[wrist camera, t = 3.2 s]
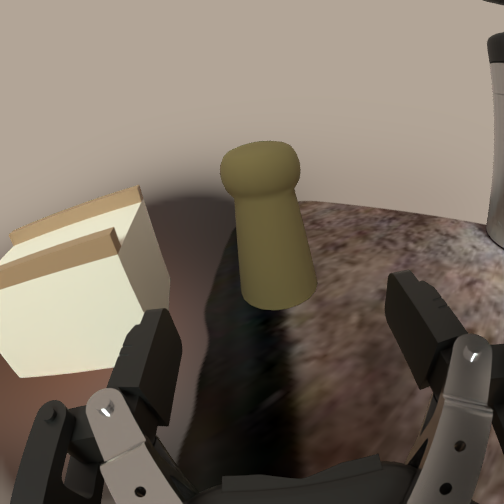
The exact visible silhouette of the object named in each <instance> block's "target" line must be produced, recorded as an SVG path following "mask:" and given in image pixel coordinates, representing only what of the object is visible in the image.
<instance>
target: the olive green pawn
mask: <svg viewBox="0 0 504 504" xmlns="http://www.w3.org/2000/svg"><path fill="white" fill-rule="evenodd" d="M220 175H221V180H222V183H223V185H224V187H225V189H226V191H227V192H228V193H229V194H230V195H231V196H232V197H233V198H234V202H235V216H236V229H237V243H238V256H239V269H240V281H241V293H242V295H243V298H244V300H245V301H247V302H248V303H249V304H250V305H252V306H255V307H257V308H260V309H266V310H281V309H288V308H291V307H294V306H296V305H299V304H301V303H303V302H304V301H306V300H307V299H309V298H310V297H311V296H312V294H313V293H314V292H315V290H316V287H317V279H316V274H315V270H314V266H313V261H312V257H311V253H310V249H309V245H308V241H307V236H306V232H305V228H304V224H303V220H302V217H301V213H300V209H299V205H298V201H297V197H296V194H295V190H294V188H295V186H296V185H297V183H298V181H299V178H300V162H299V159H298V157H297V154H296V152H295V151H294V149H293V148H292V147H291V146H290V145H289V144H286V143H284V142H277V141H259V142H253V143H249V144H245V145H242V146H239V147H237V148H235V149H232V150H231V151H229V152H228V153H227V154H226V155H225V156H224V157H223V160H222V162H221V165H220Z"/></svg>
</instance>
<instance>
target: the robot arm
mask: <svg viewBox="0 0 504 504" xmlns="http://www.w3.org/2000/svg"><path fill="white" fill-rule="evenodd" d="M484 1H487V2H492V3H496V4H500V5H504V0H484ZM487 47H488V55H489V62H490V69H491V79H492V90H493V102H494V162H493V176H492V187H491V196H490V204H489V212H488V218H487V225H486V230H487V233H488V234H489V236H490V237H491V238H492V239H493V240H494V241H495V242H496V243H497V244H499V245H500V246H501V247H503V248H504V32H503V33H498V34H495V35H493V36H491V37H490V38H489V39H488V42H487ZM385 316H386V320H387V323H388V325H389V327H390V329H391V331H392V333H393V334H394V336H395V338H396V340H397V342H398V344H399V347H400V349H401V351H402V353H403V355H404V357H405V359H406V361H407V363H408V365H409V367H410V369H411V372H412V374H413V376H414V378H415V380H416V382H417V385H418V387H419V389H420V390H421V389H424V388H427V387H429V386H430V387H431V389H432V391H433V393H432V395H431V398H430V401H429V404H428V407H427V410H426V413H425V416H424V419H423V422H422V425H421V428H420V431H419V433H418V436H417V439H416V441H415V443H414V445H413V447H412V449H411V451H410V453H409V455H408V457H407V459H406V461H405V463H404V464H403V463H398V462H388V461H380V458H379V454H375V455H372V456H368V457H364V458H360V459H356V460H352V461H348V462H343V463H340V464H338V465H335V466H333V467H331V468H329V469H326V470H324V471H321V472H319V473H317V474H314V475H312V476H309V477H306V478H302V479H295V478H285V477H276V476H268V475H261V474H260V475H244V476H222V484H221V485H217V486H214V487H211V488H209V489H207V490H204V491H202V492H200V493H199V491H198V490H197V489H196V488H195V487H194V486H193V484H192V483H191V482H190V481H189V480H188V479H187V478H186V477H185V476H184V474H183V473H182V472H181V470H180V469H179V468H178V466H177V465H176V463H175V462H174V460H173V459H172V458H171V456H170V455H169V453H168V452H167V450H166V449H165V447H164V446H163V444H162V443H161V441H160V440H159V438H158V436H157V435H156V430H157V426H169V421H170V415H171V410H172V404H173V398H174V392H175V387H176V382H177V376H178V372H179V366H180V361H181V356H182V343H181V339H180V336H179V334H178V332H177V329H176V327H175V325H174V323H173V320H172V318H171V316H170V313H169V311H168V310H167V309H166V308H160V309H151V310H146V311H145V313H144V315H143V317H142V320H141V323H140V324H138V325H135V326H134V327H133V328H132V329H131V330H130V331H129V333H128V334H127V335H126V338H125V340H124V343H123V345H122V346H123V347H122V348H121V350H120V353H119V356H118V358H117V361H116V363H115V366H114V369H113V371H112V374H111V377H110V379H109V382H108V385H107V388H105V389H102V390H100V391H98V392H96V393H95V394H93V396H91V398H90V399H89V401H88V402H87V405H85V406H80V407H76V408H72V409H68V408H67V407H66V406H65V405H64V404H63V403H62V402H60V401H57V400H52V401H49V402H47V403H45V404H44V405H43V406H42V407H41V408H40V409H39V411H38V413H37V415H36V417H35V420H34V423H33V426H32V429H31V431H30V434H29V437H28V440H27V443H26V447H25V449H24V453H23V456H22V459H21V463H20V466H19V470H18V474H17V477H16V481H15V485H14V489H13V493H12V497H11V502H10V504H101V498H102V491H103V485H104V480H105V482H106V484H107V486H108V488H109V490H110V492H111V494H112V496H113V498H114V500H115V502H116V504H479V503H477V502H475V501H473V500H471V499H472V496H473V493H474V490H475V487H476V484H477V481H478V478H479V474H480V471H481V467H482V464H483V460H484V456H485V452H486V447H487V443H488V438H489V433H490V428H491V423H492V425H493V427H494V430H495V432H496V435H497V438H498V440H499V443H500V446H501V449H502V451H503V454H504V344H497V345H490V344H489V342H488V341H487V340H486V339H484V338H483V337H481V336H479V335H476V334H468V332H467V331H466V330H465V328H464V327H463V325H462V324H461V323H460V321H459V320H458V318H457V317H456V316H455V314H454V313H453V311H452V310H451V309H450V307H449V306H447V303H446V302H445V301H444V299H442V298H441V296H440V294H439V293H438V292H437V290H436V289H435V288H434V287H433V286H431V285H429V284H428V283H426V282H425V281H418V280H417V278H416V277H415V276H414V274H413V273H412V272H411V271H410V270H405V271H400V272H395V273H390V274H389V276H388V283H387V292H386V301H385ZM67 453H68V454H69V455H71V456H70V460H69V464H68V468H67V473H66V477H65V482H64V484H63V482H62V477H61V476H62V470H63V466H64V462H65V458H66V454H67Z"/></svg>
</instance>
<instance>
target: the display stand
mask: <svg viewBox="0 0 504 504" xmlns="http://www.w3.org/2000/svg"><path fill="white" fill-rule="evenodd" d="M9 237H10V239H11V241H12V243H13V247H12V248H11V249H10V250H9V252H7V254H6V255H5V256H4V257H3V258H2V259H1V260H0V353H1V355H2V356H3V357H4V359H5V360H6V361H7V362H8V364H9V365H10V366H11V367H12V369H13V370H14V371H15V372H16V373H17V375H18V376H19V377H20V378H24V377H37V376H47V375H58V374H67V373H75V372H84V371H90V370H98V369H105V368H112V367H114V366H115V363H116V361H117V358H118V356H119V353H120V350H121V348H122V347H123V346H122V345H123V343H124V340H125V338H126V335H127V334H128V333H129V331H130V330H131V329H132V328H133V327H134V326H135V325H138V324H140V323H141V320H142V317H143V315H144V313H145V311H146V310H151V309H160V308H166V309H167V310H168V311H169V295H170V280H171V279H170V276H169V273H168V270H167V268H166V265H165V262H164V259H163V256H162V254H161V251H160V248H159V245H158V242H157V239H156V236H155V233H154V231H153V228H152V224H151V221H150V218H149V215H148V212H147V209H146V205H145V202H144V199H143V196H142V193H141V189H140V186H139V185H137V186H134V187H131V188H127V189H124V190H121V191H118V192H115V193H112V194H108V195H105V196H102V197H100V198H97V199H94V200H91V201H88V202H85V203H82V204H79V205H77V206H74V207H71V208H68V209H66V210H63V211H60V212H58V213H55V214H52V215H50V216H47V217H45V218H42V219H40V220H37V221H35V222H32V223H30V224H28V225H25V226H23V227H20V228H18V229H16V230H14V231H12V233H10V234H9Z"/></svg>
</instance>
